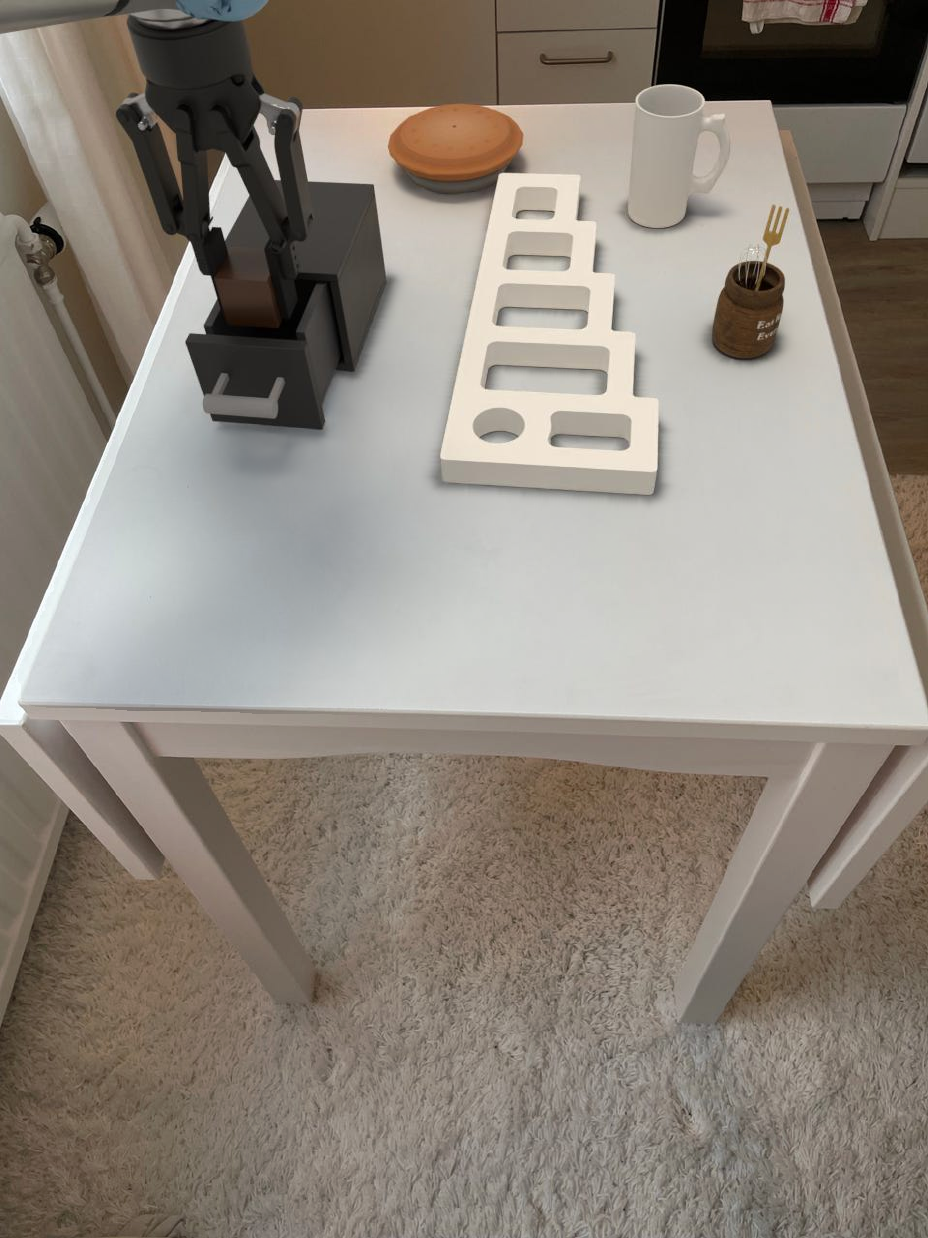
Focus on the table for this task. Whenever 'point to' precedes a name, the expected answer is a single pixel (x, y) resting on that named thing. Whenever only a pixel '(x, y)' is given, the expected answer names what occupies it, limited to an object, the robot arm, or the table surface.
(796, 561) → the table surface
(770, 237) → the utensil holder
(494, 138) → the pie
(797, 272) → the table surface
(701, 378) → the table surface
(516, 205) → the holder
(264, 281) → the block
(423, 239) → the table surface
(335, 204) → the cabinet
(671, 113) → the mug
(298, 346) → the drawer
